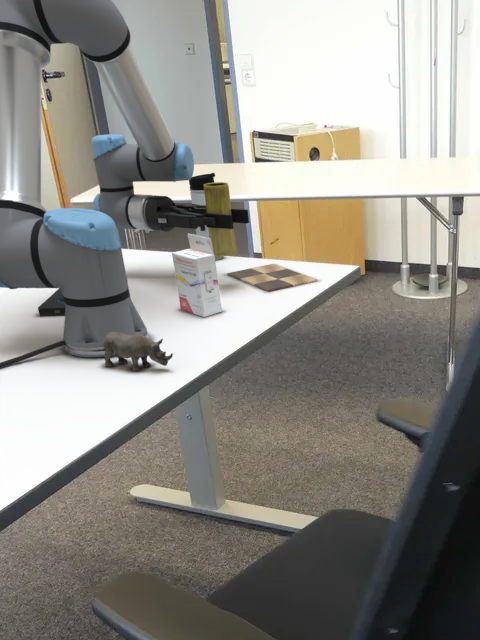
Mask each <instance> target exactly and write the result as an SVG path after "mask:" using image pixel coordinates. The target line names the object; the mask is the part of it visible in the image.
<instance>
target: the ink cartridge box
mask: <svg viewBox="0 0 480 640" xmlns="http://www.w3.org/2000/svg"><path fill="white" fill-rule="evenodd" d="M187 239H188V240H187V241H188V244H189V248H186V249H181V250H176V251H173V252H171V257H172V264H173V268H174V275H175V281H176V288H177V294H178V300H179V306H180V310H181V311H185V312H188V313H190V314H194V315H196V316H200V317H203V318H206V317H209V316H212V315H216V314H218V313H222V311H223V309H222V301H221V293H220V285H219V277H218V271H217V263H216V260H215V255H214V252H213V247H212V242H211V239H210V238H206V237H202V236H198V235H196V234H194V233H189V232H187ZM199 240H200V241H201V242H203V243H204V245H200V244H197V241H199Z"/></svg>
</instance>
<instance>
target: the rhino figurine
mask: <svg viewBox="0 0 480 640" xmlns="http://www.w3.org/2000/svg"><path fill="white" fill-rule="evenodd" d="M163 340H164V338H161V339H160V340H158V341H155V340H152V339H150V338H149V337H148V338H147V337H145V336H143V335H139V334H136V335H133V336H130V335H125V334H123V333H119V332H109V333H108V334H107V335H106V337H105V340H104V350H105V354H104V357H103V358H104V367H113V366H114V362H113V361H112V360H111V358H112V356H111V355H113V354H114V352H115V355H114V356H116V357H117V362H118V363H120V364H127V363H128V362H129V361H128V359H131V362H132V364H131V369H132V371H140V369H141V367H140V366H139V361H140V359H141V365H142V367H146V368H147V367H151V366H152V363H151V362H149V361H148V357H149V359H150V360H151V361H152V362H155V363H157V364H159V365H161V366H164V367H167V366H168V363H169V361H170V360H171V359H172V358H173V355H174V353H173V352H171V353H170V354H169V355H166V353H167V352H166V351H164V350H162V349H161V346H160V345H161V344H162V343H163Z"/></svg>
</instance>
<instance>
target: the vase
mask: <svg viewBox="0 0 480 640" xmlns="http://www.w3.org/2000/svg"><path fill="white" fill-rule="evenodd" d="M203 186H204V194H205V202H206V211H207V213H211V214H226V215H232V213H231V209H232V203H231V196H230V195H231V194H230V187H229V182H223V181H214V183H207V184H204V185H203ZM208 230H209V238H210V239H211V242H212V247H213V252H214V255H215V256H219V257H222V256H224V257H230V256H234V255H236V254H238V252H239V251H238V248H237V242H236V236H235V228H233V229H224V228H210V227H208Z"/></svg>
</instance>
